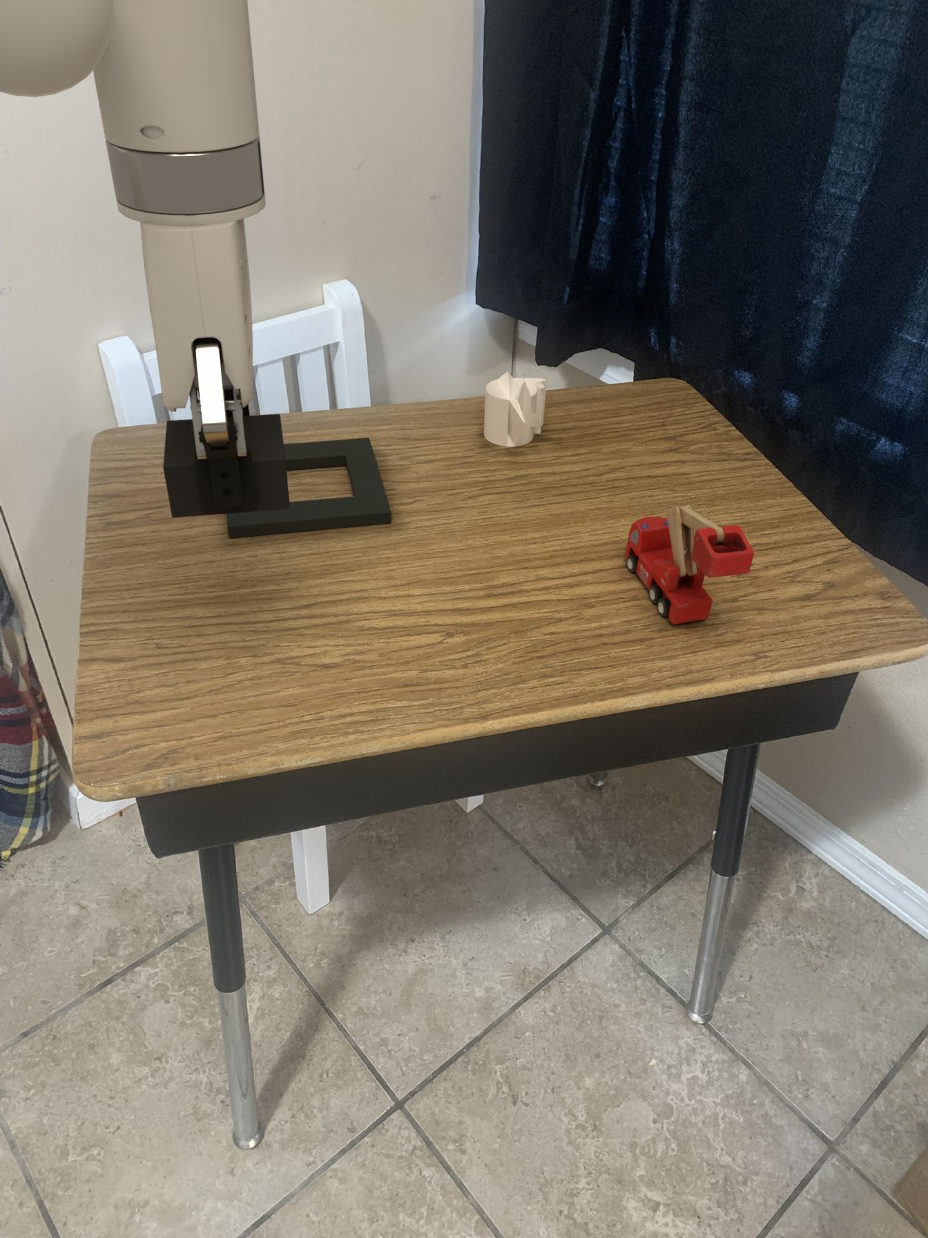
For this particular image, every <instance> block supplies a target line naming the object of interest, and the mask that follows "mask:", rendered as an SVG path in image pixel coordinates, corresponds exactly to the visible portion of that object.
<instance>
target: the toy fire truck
mask: <svg viewBox="0 0 928 1238" xmlns="http://www.w3.org/2000/svg"><path fill="white" fill-rule="evenodd" d="M754 554H755V550H754V548H753V547H752V544H750V541H749V540H748V538H747V536H746V535H745V533H744V531H743V529H742V527H741V526H740V525H738V524H734V525H733V524H732V525H725V526H719V525H717V524H715V523H714V522H712V521H711V520H709V519H707V518H705V517H704V516H702V515H700V513H698V512H696V511H694V510H693V509H692V505H690V504H686V505H681V506H677V505H676V506H673V507H671V508H669V509H667V510H666V517H663V516H645V517H642V518H640V519H637V520H636V521H634V522H633V523H632V524H631V525H630V528H629V531H628V535H627V543H626V545H625V553H624V557H625V560H626V567H627V569H628V571H629V572H630V573H636V575H637V576H638V578H639V579H640V581H641V582H642V583H643V585H644V586H645V588H646V589H647V590H648V596H649V599H650V602H651V603H653V604H657V611H658V614H659V616H660V617H668V620H669V622H670V623H671V624H672V625H679V624H685V623H690V622H691V623H692V622H696V621H700V620H701V621H703V620H707V619H709V617H710V613H711V608H712V604H713V603H714V601H713V598H712V597H711V596H710V595H709V593H708V592H707V591H706V589H705V588H704V587H703V584H704V581H705V577H706V578H708V579H715V578H721V577H729V576H736V575H738V576H739V575H744V574H745V575H747V574H750V572H751V568H752V564H753V559H754V556H755V555H754Z"/></svg>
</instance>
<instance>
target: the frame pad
mask: <svg viewBox="0 0 928 1238" xmlns="http://www.w3.org/2000/svg"><path fill="white" fill-rule="evenodd" d="M284 450H285V459H286V469H287V471H297V470H298V471H300V470H309V469H310V470H312V469H321V468H337V467H346V470H347V474H348V478H349V482H350V487H351V492H352V494H353V495H352V496H342V497H329V498H319V499H306V500H296V501H289V502H290V508H289V509H281V510H268V511H255V512H243V513H230V514H226V527H227V535H228V538H229V539H237V538H246V537H257V536H269V535H278V534H289V533H290V534H291V533H300V532H313V531H321V530H332V529H343V528H354V527H355V528H356V527H366V526H374V525H375V526H376V525H384V524H385V525H386V524H392V509H391V506H390V503H389V500H388V496H387V492H386V489H385V487H384V483H383V482H384V481H383V480H382V475H381V472H380V469H379V466H378V462H377V459H376V455H375V452H374V449H373V446H372V443H371V439H370V437H357V438H346V439H345V438H344V439H334V440H333V439H332V440H320V441H319V440H318V441H306V442H305V441H304V442H294V443H284Z"/></svg>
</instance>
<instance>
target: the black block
mask: <svg viewBox="0 0 928 1238" xmlns="http://www.w3.org/2000/svg"><path fill="white" fill-rule="evenodd" d="M281 418H282V417H281V414H280V413H271V414H256V415H255V414H254V415H253V414H252V415H250V416H243V422H244V431H245V441H246V448H251V453H252V461H253V470H254V479H255V487H256V496H257V509H256V510H255V511H268V510H281V509H289V508H290V502H291V501H290V492H289V483H288V482H289V480H288V470H287V469H286V459H285V450H284V444H285V443H284V442H285V441H284V435H283V426H282V419H281ZM227 422H228V424H232V425H233V426H234V420H233V417H227ZM164 439H165V440H164V450H163V451H164V452H163V463H162V469H163V475H164V480H165V485H166V491H167V497H168V502H169V503H168V504H169V508H170V513H171V517H172V518H173V519H175V518H188V517H190V518H191V517H202V516H208V515H207V514H205V513H204V512H203V510H202V504H201V497H200V491H199V484H198V478H197V472H196V465H195V459H194V451H196V444H195V436H194V428H193V419H192V418H189V419H173V420H172V419H171V420H167V421H166V426H165V437H164ZM255 511H253V512H255Z"/></svg>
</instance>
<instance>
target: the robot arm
mask: <svg viewBox="0 0 928 1238" xmlns="http://www.w3.org/2000/svg"><path fill="white" fill-rule="evenodd" d="M252 46H253V45H252V35H251V25H250V14H249V2H248V0H0V93H3V94H7V95H10V96H14V97H28V98H39V97H40V98H41V97H46V96H47V97H48V96H53V95H56V94H59V93H62V92H64V91H67V90H70V89H72V88H73V87H75V86H77V85H79V84H80V83H81V82H83V81H84V80H85V79H86V78H88V77H89V76H90V74H91V73H93V78H94V84H95V90H96V95H97V101H98V106H99V112H100V116H101V118H100V119H101V123H102V129H103V133H104V139H105V145H106V151H107V156H108V162H109V167H110V168H109V169H110V174H111V178H112V185H113V189H114V195H115V201H116V206H117V210H118V211H117V212H119V214H122V216H123V217H125V218H128V219H130V220H133V221H136V222H139V224H140V238H141V251H142V260H143V268H144V276H145V285H146V293H147V299H148V307H149V313H150V319H151V327H152V334H153V339H154V347H155V353H156V360H157V366H158V367H157V368H158V374H159V382H160V390H161V398H162V405H163V407H165V409H167V410H168V411H170V412H171V413H173V412H174V413H176V412H177V409H186V407H187V403H188V400H189V403H190V407H189V409H190V411H191V419H193V428H194V436H195V444H196V451H194V459H195V465H196V472H197V478H198V484H199V491H200V497H201V504H202V510H203V512H204V513H205V514H207V515H206V516H217V515H227V514H230V513H243V512H253V511H255V510H256V509H257V496H256V487H255V479H254V470H253V461H252V453H251V448H246V441H245V431H244V422H243V416H251V415H250V406H249V404H250V403H251V402H252V400H253V383H254V382H253V380H254V379H253V378H254V336H253V335H254V334H253V333H254V332H253V306H252V292H251V280H250V279H251V278H250V268H249V267H250V266H249V256H248V246H247V235H246V226H245V219H248V218H249V217H252V216H255V215H257V214H259V213H260V212H261V211H262V210H264V209H265V207H266V205H267V202H266V193H265V181H264V172H263V171H264V170H263V161H262V148H261V138H260V126H259V118H258V117H259V113H258V104H257V94H256V93H257V91H256V81H255V71H254V70H255V69H254V59H253V48H252ZM227 417H233V420H234V426H233V425H232V424H228V422H227Z"/></svg>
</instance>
